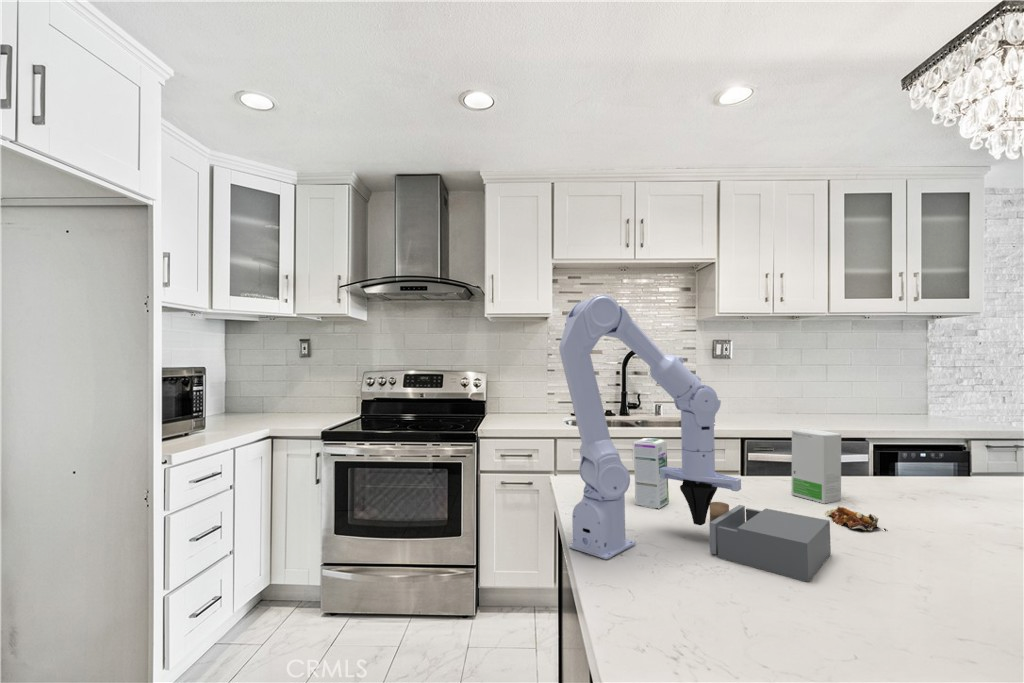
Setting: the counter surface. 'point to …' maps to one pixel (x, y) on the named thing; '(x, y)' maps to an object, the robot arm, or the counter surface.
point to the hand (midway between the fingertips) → (699, 523)
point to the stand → (717, 509)
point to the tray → (726, 524)
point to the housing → (777, 543)
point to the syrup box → (650, 472)
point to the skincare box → (816, 465)
